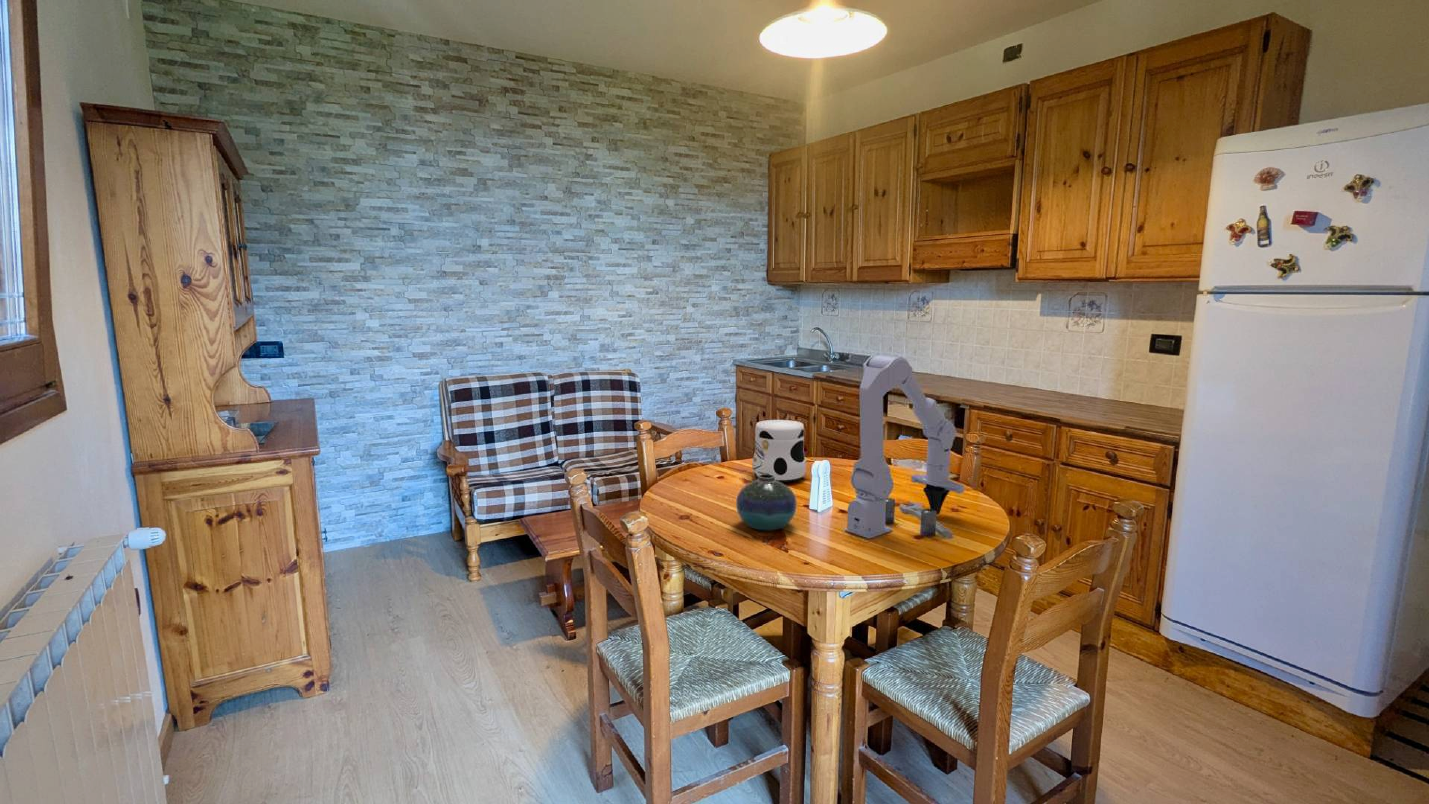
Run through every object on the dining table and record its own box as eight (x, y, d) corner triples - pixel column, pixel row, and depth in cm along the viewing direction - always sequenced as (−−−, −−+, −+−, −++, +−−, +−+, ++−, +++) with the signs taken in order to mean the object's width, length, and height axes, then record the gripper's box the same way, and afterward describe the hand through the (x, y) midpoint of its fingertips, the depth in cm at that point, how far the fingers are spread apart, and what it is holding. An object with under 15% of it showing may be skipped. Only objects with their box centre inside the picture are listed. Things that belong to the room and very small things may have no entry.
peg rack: (929, 537, 163) (931, 514, 162) (877, 521, 175) (878, 499, 174) (938, 534, 165) (939, 511, 164) (885, 518, 177) (886, 496, 176)
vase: (803, 535, 165) (804, 482, 163) (742, 538, 163) (743, 485, 161) (787, 515, 180) (787, 467, 178) (730, 518, 178) (731, 469, 176)
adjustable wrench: (954, 540, 163) (955, 533, 163) (929, 541, 163) (929, 534, 162) (917, 507, 188) (918, 501, 187) (895, 508, 187) (895, 501, 187)
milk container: (741, 478, 217) (741, 423, 214) (776, 469, 228) (777, 417, 226) (781, 489, 204) (782, 431, 202) (816, 479, 216) (818, 424, 213)
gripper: (971, 466, 173) (968, 517, 175) (922, 456, 184) (920, 504, 186) (957, 471, 169) (954, 522, 171) (907, 460, 180) (905, 509, 182)
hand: (935, 513), depth 178 cm, fingers closed
